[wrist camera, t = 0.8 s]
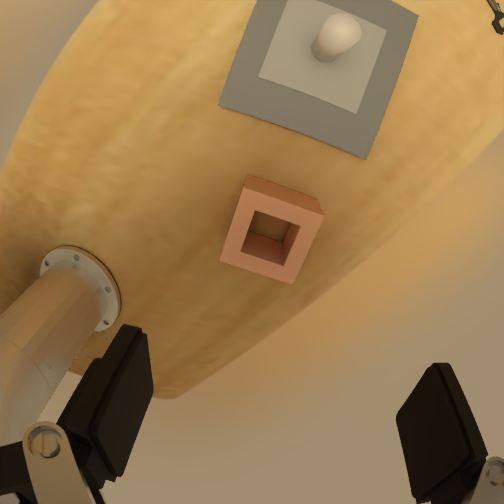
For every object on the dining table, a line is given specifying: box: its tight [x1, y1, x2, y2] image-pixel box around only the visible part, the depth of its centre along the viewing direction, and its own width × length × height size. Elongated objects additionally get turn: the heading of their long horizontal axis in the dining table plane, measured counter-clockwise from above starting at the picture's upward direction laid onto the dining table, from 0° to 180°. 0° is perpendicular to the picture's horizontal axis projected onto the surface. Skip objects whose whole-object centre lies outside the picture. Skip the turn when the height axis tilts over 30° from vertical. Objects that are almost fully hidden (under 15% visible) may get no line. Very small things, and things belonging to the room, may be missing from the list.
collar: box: [219, 175, 324, 285], centre depth 29 cm, size 7×7×5 cm
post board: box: [218, 0, 419, 160], centre depth 20 cm, size 16×14×10 cm
